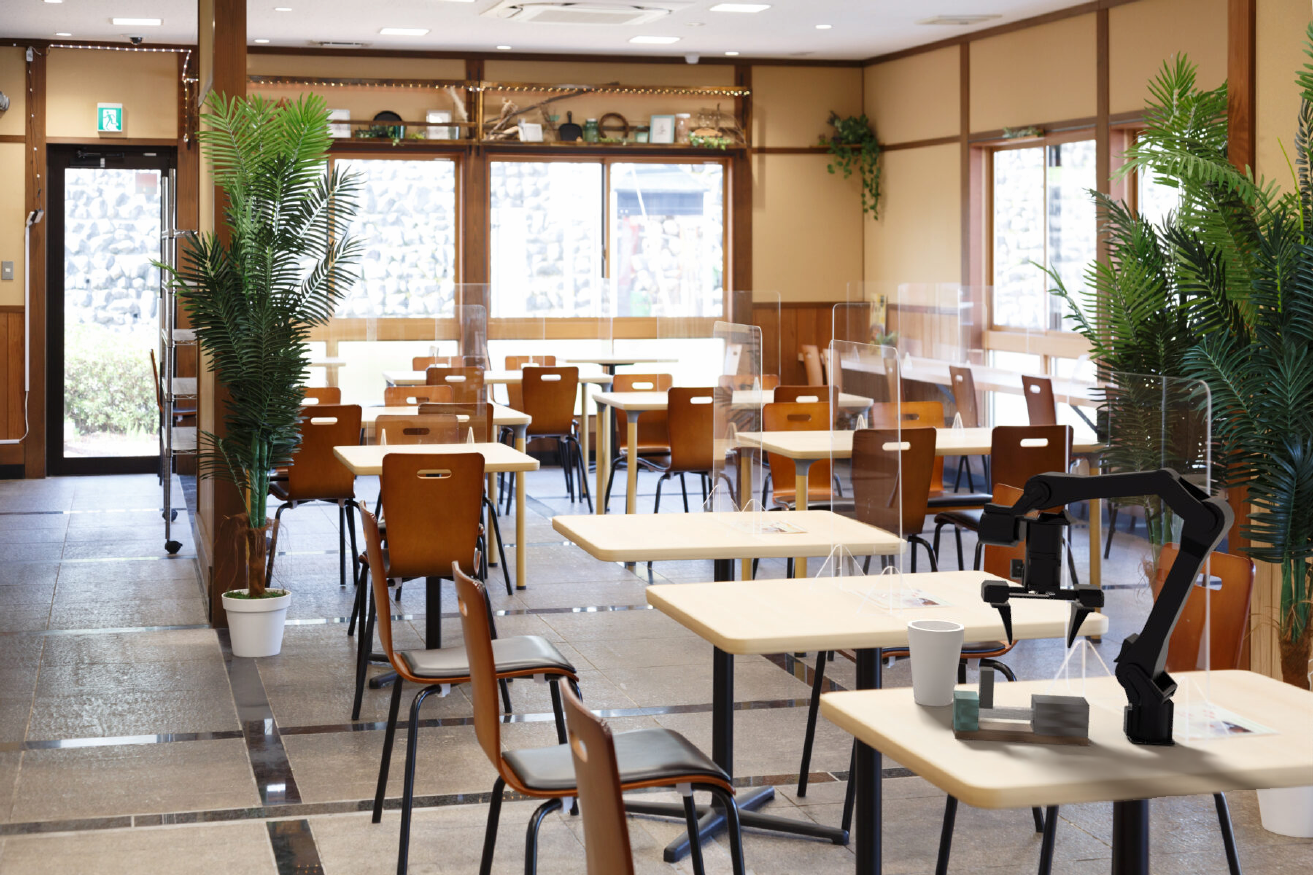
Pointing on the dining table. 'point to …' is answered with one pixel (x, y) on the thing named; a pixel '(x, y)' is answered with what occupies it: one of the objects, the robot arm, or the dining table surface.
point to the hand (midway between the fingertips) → (1039, 646)
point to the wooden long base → (1051, 723)
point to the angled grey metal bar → (987, 701)
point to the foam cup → (934, 659)
